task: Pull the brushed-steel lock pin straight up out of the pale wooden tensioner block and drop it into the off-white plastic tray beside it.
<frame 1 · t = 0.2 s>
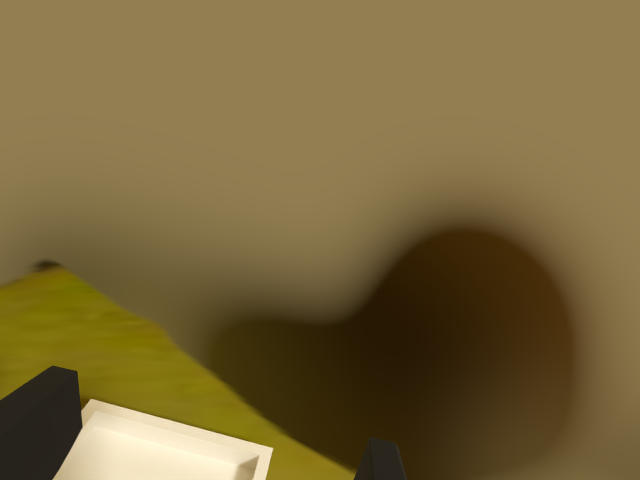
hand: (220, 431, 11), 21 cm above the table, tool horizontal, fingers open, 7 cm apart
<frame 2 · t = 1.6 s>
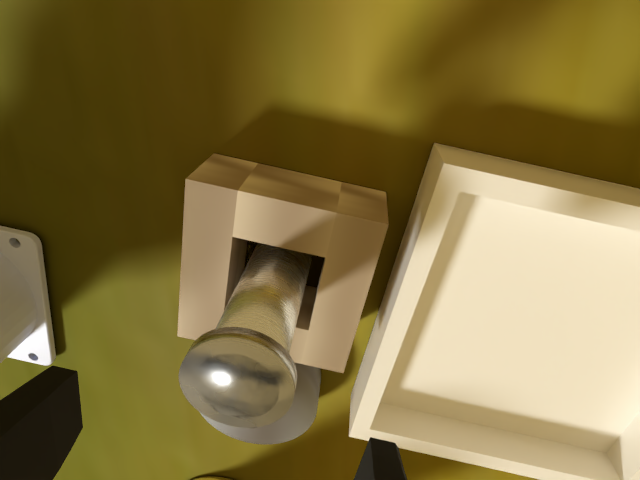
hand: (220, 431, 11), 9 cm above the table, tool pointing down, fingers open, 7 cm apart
tensioner block: (286, 247, 19), on the table
tray: (534, 323, 19), on the table
lock pin: (286, 247, 19), resting in tensioner block
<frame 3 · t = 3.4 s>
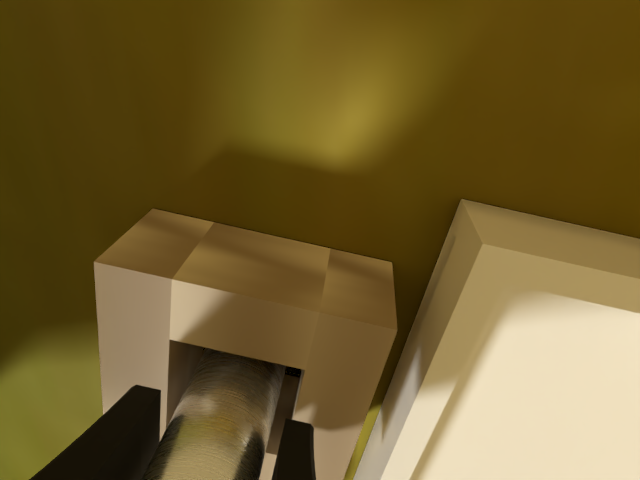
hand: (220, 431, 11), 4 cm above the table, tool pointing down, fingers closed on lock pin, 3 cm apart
tensioner block: (257, 328, 14), on the table
tray: (588, 427, 15), on the table
lock pin: (257, 328, 14), resting in tensioner block, touching gripper
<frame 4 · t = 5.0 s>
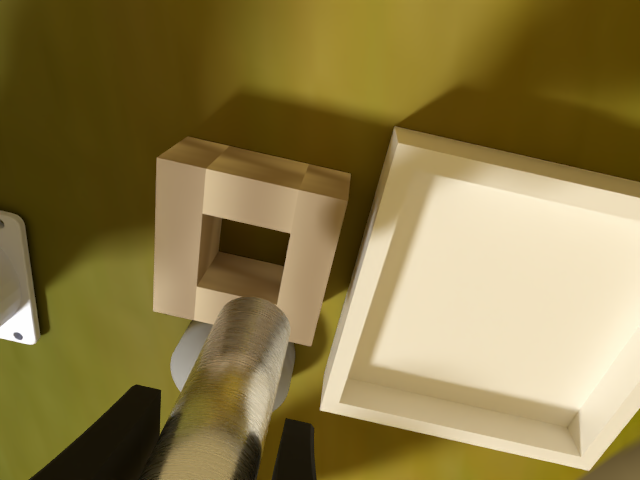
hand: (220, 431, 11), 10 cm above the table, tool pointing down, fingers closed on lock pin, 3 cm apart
tensioner block: (258, 228, 20), on the table
tray: (495, 301, 20), on the table
lock pin: (253, 327, 14), point 7 cm above the table, touching gripper
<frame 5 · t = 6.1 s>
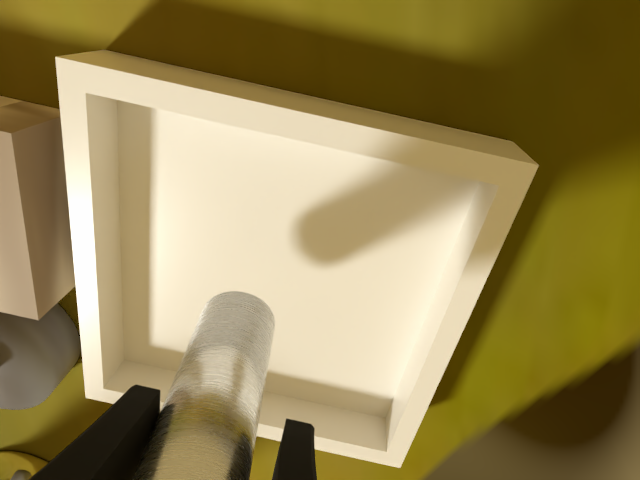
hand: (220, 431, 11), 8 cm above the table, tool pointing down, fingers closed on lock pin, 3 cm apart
tray: (277, 268, 17), on the table
lock pin: (238, 321, 14), point 4 cm above the table, touching gripper
when the fingers open (6 cm above the table, at t = 7.0 s): lock pin drops 2 cm, resting on tray.
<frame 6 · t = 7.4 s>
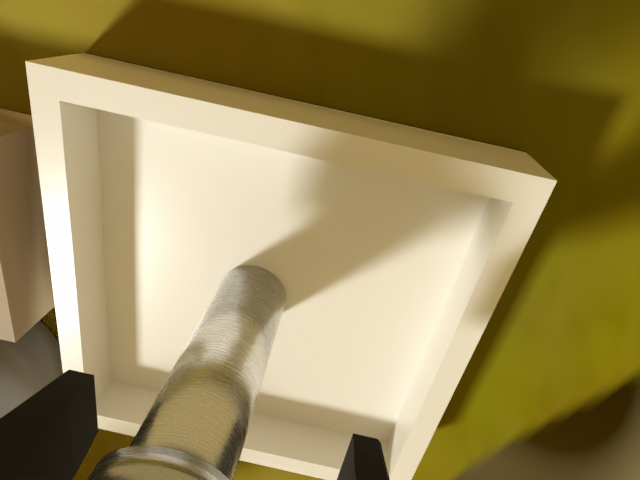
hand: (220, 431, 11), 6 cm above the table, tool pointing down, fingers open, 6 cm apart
tray: (272, 285, 16), on the table
lock pin: (253, 294, 16), point 1 cm above the table, touching tray
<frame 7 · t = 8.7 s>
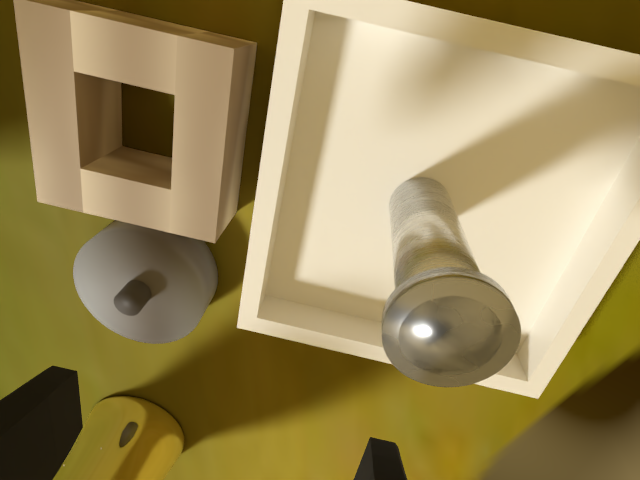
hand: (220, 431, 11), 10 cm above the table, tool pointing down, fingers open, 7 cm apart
tensioner block: (162, 115, 18), on the table
tray: (430, 202, 18), on the table
beer glass: (139, 427, 27), on the table
lock pin: (419, 205, 17), point 1 cm above the table, touching tray
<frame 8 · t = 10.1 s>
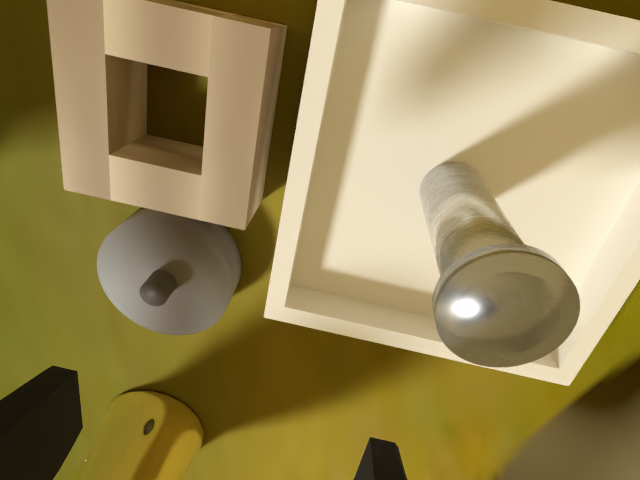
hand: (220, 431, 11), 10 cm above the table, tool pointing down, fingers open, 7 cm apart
tensioner block: (188, 102, 17), on the table
tray: (460, 188, 18), on the table
beer glass: (157, 422, 27), on the table
lock pin: (450, 190, 17), point 1 cm above the table, touching tray
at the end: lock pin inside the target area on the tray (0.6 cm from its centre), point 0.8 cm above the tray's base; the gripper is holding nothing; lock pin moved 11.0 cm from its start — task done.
